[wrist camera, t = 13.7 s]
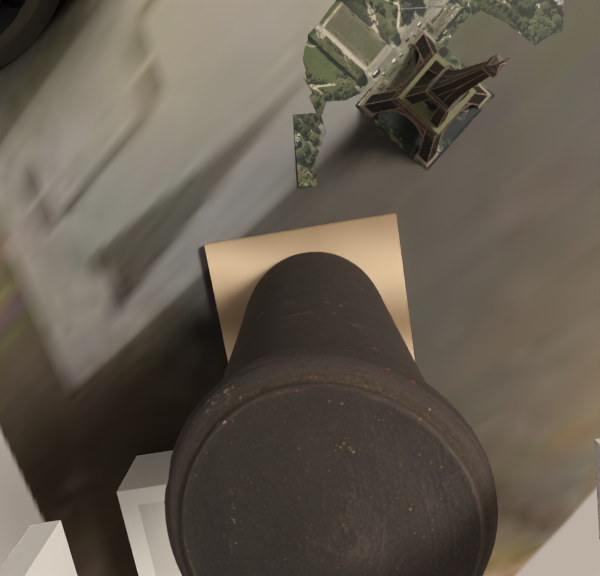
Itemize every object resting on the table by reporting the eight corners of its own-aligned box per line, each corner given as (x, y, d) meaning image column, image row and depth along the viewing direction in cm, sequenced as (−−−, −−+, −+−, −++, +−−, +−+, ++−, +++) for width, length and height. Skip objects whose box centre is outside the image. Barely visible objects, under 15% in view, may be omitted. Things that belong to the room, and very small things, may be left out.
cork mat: (206, 244, 33) (204, 245, 32) (394, 212, 32) (395, 213, 32) (241, 417, 35) (240, 421, 34) (417, 390, 35) (419, 394, 34)
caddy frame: (136, 455, 35) (116, 491, 32) (355, 422, 35) (363, 454, 31) (182, 639, 38) (169, 693, 35) (385, 610, 38) (395, 662, 34)
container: (252, 401, 34) (187, 718, 14) (229, 255, 32) (118, 392, 13) (394, 384, 34) (524, 682, 14) (379, 236, 32) (505, 344, 12)
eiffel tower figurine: (564, -17, 30) (765, -154, 17) (558, 175, 32) (732, 184, 19) (285, 3, 30) (274, -116, 17) (297, 193, 33) (296, 213, 20)
